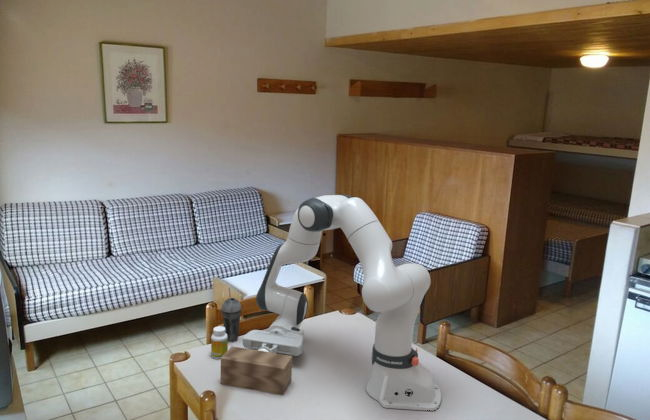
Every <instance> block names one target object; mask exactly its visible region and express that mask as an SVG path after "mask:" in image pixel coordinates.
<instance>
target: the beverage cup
mask: <svg viewBox="0 0 650 420" xmlns="http://www.w3.org/2000/svg"><path fill="white" fill-rule="evenodd" d="M228 296H229V297H228V298H227V299H226V300H224V301H223V303H222V304H221V315H222V322H223V323H222V325H223V327H225V333H226V334H227V336H228V343H235V342H238V340H239V339H238V338H239V332H240V322H241V314H242V311H243V308H242V305H241V302H240V301H239V300H238V298H234V297H232V294H231V287H228Z"/></svg>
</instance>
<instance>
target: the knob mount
mask: <svg viewBox="0 0 650 420" xmlns="http://www.w3.org/2000/svg"><path fill="white" fill-rule="evenodd" d="M292 369H293V355H288V354H282V353H270V352H264V351H258V350H257V349H250V348H245V347H239V346H234V345H233V346H230V347H229V349H228V351H227V352H226V353H225V354H224V355H223V356H222V357H221V359H220V385H225V386H230V387H236V388H240V389H242V388H243V389H248V390H253V391H258V392H263V393H269V394H275V395H280V396H284V395H285V393H286V391H287V389H288V388H289V386H290V384H291V383H292V379H293V378H292V374H293V373H292V372H293V370H292Z"/></svg>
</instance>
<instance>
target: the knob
mask: <svg viewBox="0 0 650 420" xmlns="http://www.w3.org/2000/svg"><path fill="white" fill-rule="evenodd" d="M258 351H264V352H270V353H272V351H271V350H270V349H269V348H268V347H265V346H263V347H260V348H259V349H258Z"/></svg>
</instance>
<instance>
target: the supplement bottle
mask: <svg viewBox="0 0 650 420" xmlns="http://www.w3.org/2000/svg"><path fill="white" fill-rule="evenodd" d="M212 330H213V332H212V334H211V337H210V342H211V343H210V345H211V346H210V352H211V353H210V354H211V357H212V358H213V359H216V360H221V357H222V356H223V355H224V354H225V353H226V352H227V351H228V350H229V349H228V344H229V342H228V336H227V334H226V333H225V327H224V325H223V326H221V325H217V326H215V327H213V329H212Z"/></svg>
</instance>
